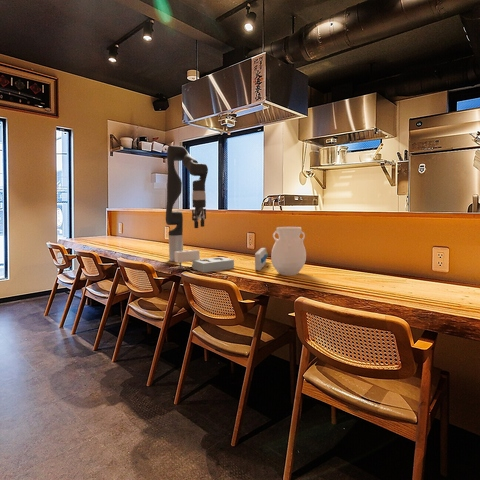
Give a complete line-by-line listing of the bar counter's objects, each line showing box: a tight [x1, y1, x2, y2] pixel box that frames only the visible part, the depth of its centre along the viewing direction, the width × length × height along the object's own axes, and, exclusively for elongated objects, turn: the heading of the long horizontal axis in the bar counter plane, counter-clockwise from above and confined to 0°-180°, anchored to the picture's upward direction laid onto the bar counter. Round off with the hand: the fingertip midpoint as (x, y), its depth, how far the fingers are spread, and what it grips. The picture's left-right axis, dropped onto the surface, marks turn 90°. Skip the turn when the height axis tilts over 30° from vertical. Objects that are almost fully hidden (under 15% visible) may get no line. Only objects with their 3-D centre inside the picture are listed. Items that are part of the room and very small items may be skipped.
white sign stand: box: [174, 249, 200, 270], centre depth 206 cm, size 5×14×10 cm, turn 124°
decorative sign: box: [254, 247, 268, 272], centre depth 208 cm, size 32×4×10 cm, turn 168°
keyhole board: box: [191, 256, 235, 273], centre depth 202 cm, size 14×20×5 cm
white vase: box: [270, 226, 307, 276], centre depth 184 cm, size 19×18×25 cm
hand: (199, 227), depth 198 cm, fingers open, 8 cm apart
